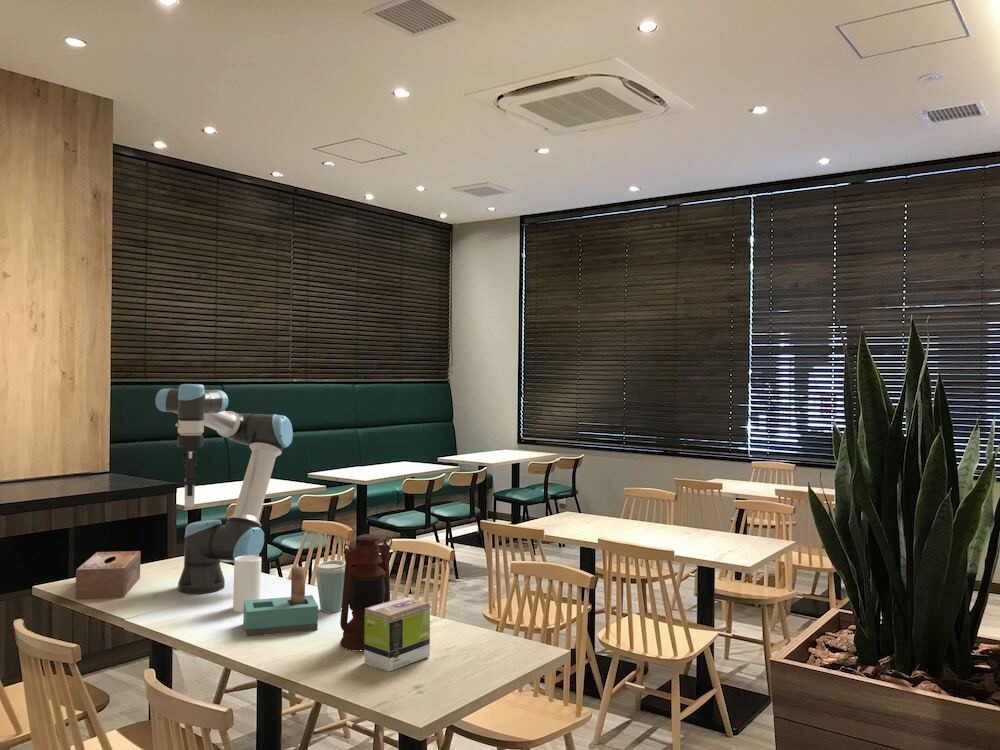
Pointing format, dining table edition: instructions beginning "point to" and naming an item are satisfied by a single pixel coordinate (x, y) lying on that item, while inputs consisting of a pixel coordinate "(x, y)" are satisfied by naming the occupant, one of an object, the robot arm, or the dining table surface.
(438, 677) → the dining table surface
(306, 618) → the socket block
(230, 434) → the robot arm
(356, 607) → the lantern
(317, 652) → the dining table surface
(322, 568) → the disposable coffee cup
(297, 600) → the walnut pin
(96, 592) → the tissue box cover
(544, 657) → the dining table surface
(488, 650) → the dining table surface
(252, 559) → the cup
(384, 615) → the tea box
